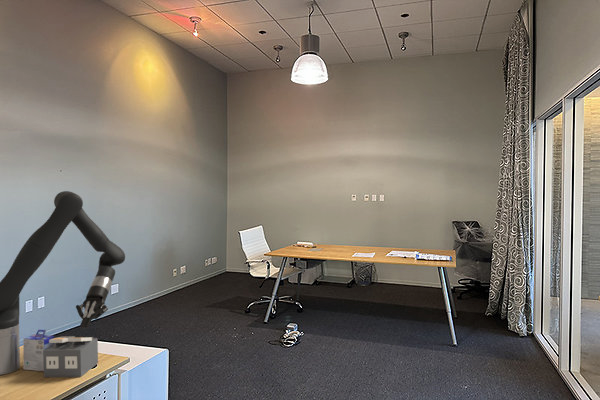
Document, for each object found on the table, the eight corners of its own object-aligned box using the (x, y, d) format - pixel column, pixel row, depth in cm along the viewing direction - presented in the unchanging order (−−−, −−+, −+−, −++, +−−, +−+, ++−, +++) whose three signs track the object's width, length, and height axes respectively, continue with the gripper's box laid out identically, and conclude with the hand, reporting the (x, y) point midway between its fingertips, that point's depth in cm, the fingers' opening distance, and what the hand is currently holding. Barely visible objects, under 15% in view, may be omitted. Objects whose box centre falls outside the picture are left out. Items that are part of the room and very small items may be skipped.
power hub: (43, 377, 147) (42, 348, 147) (63, 363, 159) (62, 336, 159) (80, 377, 147) (79, 348, 147) (98, 363, 159) (97, 336, 159)
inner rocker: (49, 342, 149) (49, 339, 149) (62, 339, 157) (62, 336, 157) (62, 342, 149) (62, 339, 149) (74, 339, 157) (74, 336, 157)
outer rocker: (67, 341, 149) (68, 337, 149) (79, 340, 157) (79, 337, 157) (80, 341, 149) (81, 337, 149) (91, 340, 157) (92, 337, 157)
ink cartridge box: (56, 365, 157) (55, 329, 157) (44, 372, 152) (43, 334, 152) (34, 364, 159) (34, 328, 159) (22, 370, 154) (21, 332, 154)
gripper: (80, 284, 165) (62, 323, 153) (112, 284, 165) (96, 323, 153) (87, 294, 171) (70, 332, 158) (118, 294, 170) (103, 332, 158)
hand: (83, 327), depth 156 cm, fingers closed
